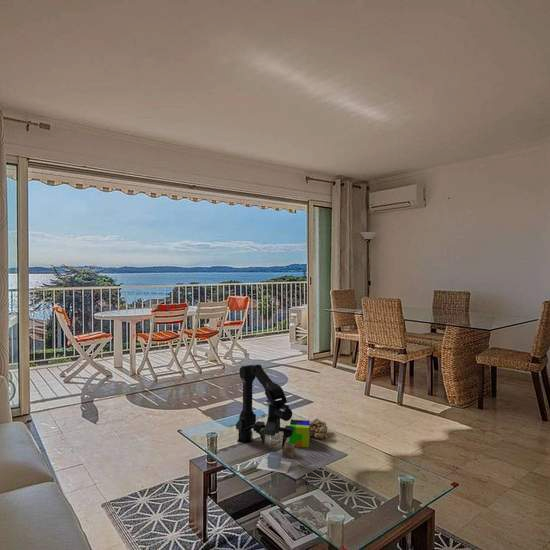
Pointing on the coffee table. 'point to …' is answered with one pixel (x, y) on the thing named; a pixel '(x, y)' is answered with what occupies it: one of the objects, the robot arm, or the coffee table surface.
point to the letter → (282, 468)
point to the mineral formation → (318, 429)
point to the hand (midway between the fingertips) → (273, 446)
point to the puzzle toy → (300, 433)
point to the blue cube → (274, 460)
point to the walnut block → (288, 450)
